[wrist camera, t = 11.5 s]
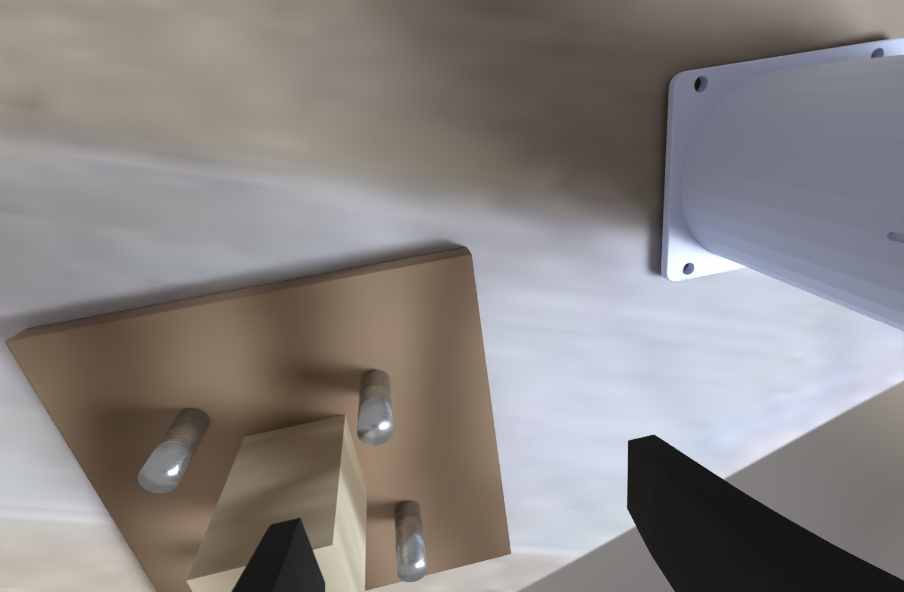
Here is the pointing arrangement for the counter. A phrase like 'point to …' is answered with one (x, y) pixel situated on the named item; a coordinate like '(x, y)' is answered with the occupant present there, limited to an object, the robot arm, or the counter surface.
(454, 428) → the peg board
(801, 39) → the counter surface
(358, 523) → the block
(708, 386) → the counter surface
